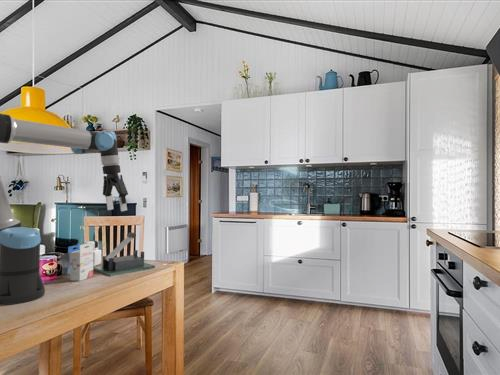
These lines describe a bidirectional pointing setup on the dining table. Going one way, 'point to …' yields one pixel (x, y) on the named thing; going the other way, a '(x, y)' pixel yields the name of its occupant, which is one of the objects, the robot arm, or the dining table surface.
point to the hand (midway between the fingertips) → (117, 210)
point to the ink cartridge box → (81, 263)
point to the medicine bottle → (95, 253)
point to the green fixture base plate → (123, 264)
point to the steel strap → (120, 246)
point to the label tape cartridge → (68, 259)
